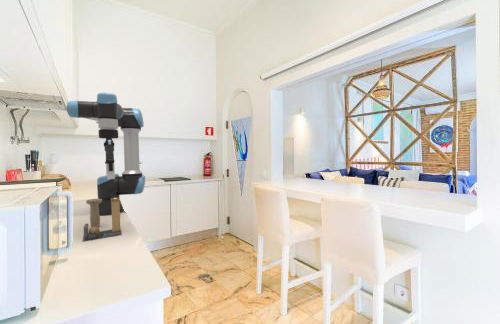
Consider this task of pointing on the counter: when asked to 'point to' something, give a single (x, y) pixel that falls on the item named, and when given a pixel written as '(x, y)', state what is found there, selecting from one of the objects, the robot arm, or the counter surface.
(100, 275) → the counter surface
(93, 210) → the handle
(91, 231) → the round brown knob
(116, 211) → the lever
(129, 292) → the counter surface
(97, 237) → the slotted metal plate
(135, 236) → the counter surface
